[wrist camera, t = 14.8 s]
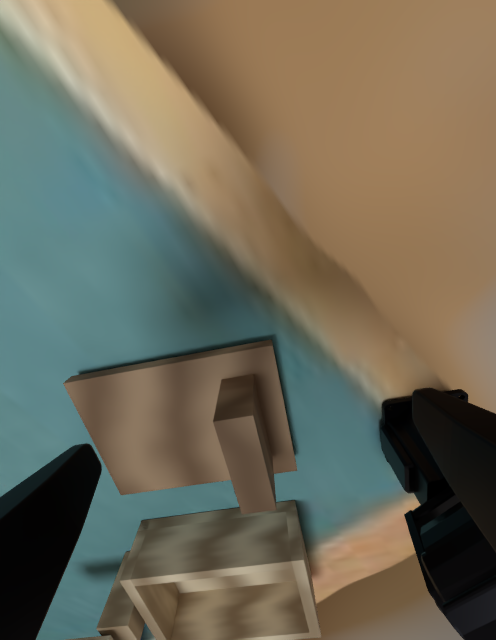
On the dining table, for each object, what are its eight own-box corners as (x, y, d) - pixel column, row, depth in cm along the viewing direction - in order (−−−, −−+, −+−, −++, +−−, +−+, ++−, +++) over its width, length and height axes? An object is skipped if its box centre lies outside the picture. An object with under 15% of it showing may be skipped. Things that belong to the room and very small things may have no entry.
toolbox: (294, 500, 27) (305, 574, 21) (311, 573, 31) (323, 652, 25) (110, 524, 28) (74, 600, 23) (148, 591, 33) (126, 669, 27)
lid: (270, 334, 21) (278, 381, 15) (293, 451, 25) (307, 526, 19) (79, 369, 22) (13, 426, 16) (130, 475, 26) (93, 552, 20)
